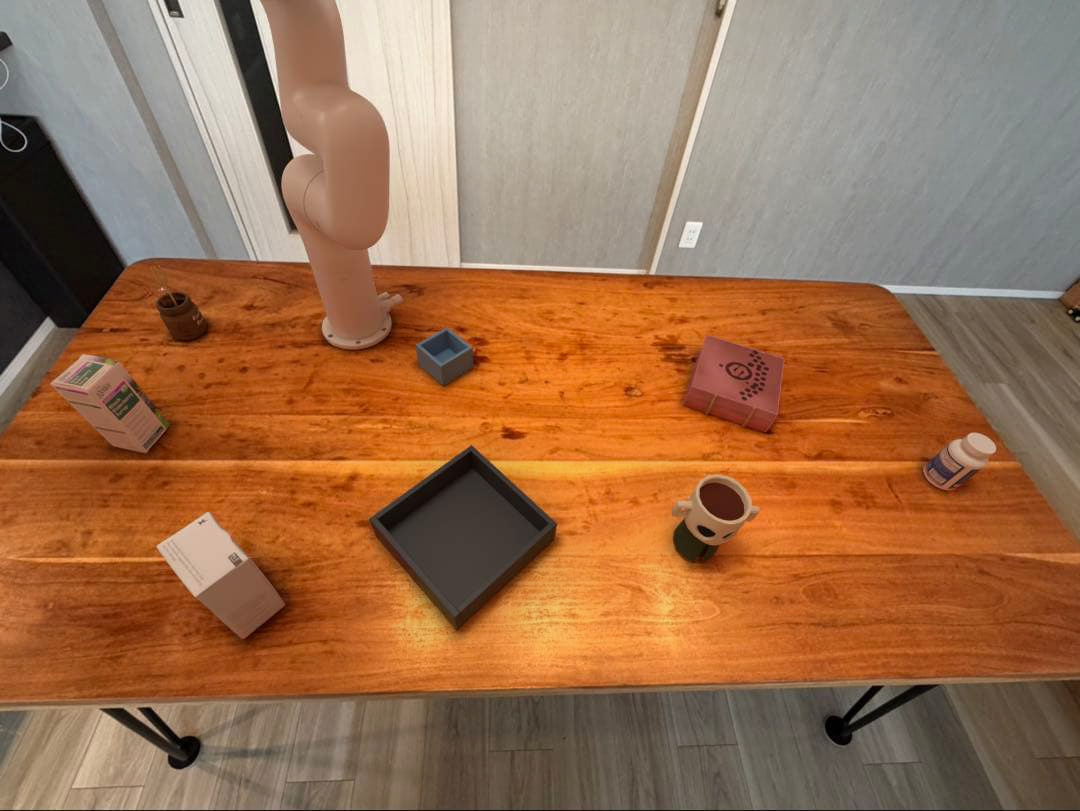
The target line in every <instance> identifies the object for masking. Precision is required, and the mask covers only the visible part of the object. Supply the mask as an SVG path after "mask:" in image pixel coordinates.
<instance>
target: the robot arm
mask: <svg viewBox="0 0 1080 811" xmlns="http://www.w3.org/2000/svg"><path fill="white" fill-rule="evenodd" d="M259 2H260V4H261V5H262V8H263V10H264V12H265V15H266V17H267V21H268V25H269V29H270V34H271V39H272V45H273V50H274V51H273V52H274V59H275V68H276V76H277V77H276V78H277V85H278V94H279V95H278V96H279V103H280V113H281V119H282V124H283V126H284V127H285V129H286V131H287V133H288V134H289V136H290V137H291V138H292V139H294V140H295V142H296V143H298V144H299V145H300V146H302V147H303V148H305V150H307V151H309V152H311V153H305V154H300V155H298V156H296V157H294V158H292V159H291V160H290V161H289V162H288V163H287V164H286V166H285V167H284V170H283V172H282V176H281V184H280V185H281V193H282V198H283V200H284V203H285V206H286V209H287V210H288V212H289V215H290V217H291V219H292V221H293V223H294V225H295V227H296V229H297V231H298V234H299V236H300V239H301V241H302V244H303V246H304V250H305V253H306V256H307V258H308V262H309V265H310V269H311V270H312V271H311V272H312V274H313V277H314V281H315V284H316V287H317V290H318V293H319V296H320V299H321V302H322V305H323V309H324V312H325V315H326V316H325V317H324V319H323V320H322V324H321V332H322V335H323V337H324V339H325V340H326V342H328V343H329V344H330V345H332V346H333V347H336V348H339V349H343V350H350V351H351V350H363V349H367V348H370V347H373V346H375V345H377V344H380V342H382V341H383V340H385V339H386V338H387V336H388V335H389V334H390V332H391V330H392V325H393V323H392V318H391V315H390V312H391V309H393V308H396V307H398V306H400V305H402V304H404V299H403V296H401V295H400V294H399V293H397V294H395V295H393V296H391V297H390V294H389V293H388V291H384V292H383V293H380V294H379V295H378V291H377V288H376V281H375V278H374V273H373V268H372V264H371V260H370V258H371V257H370V253H369V249H370V248H372V247H373V246H375V245H376V244H377V243H378V242H379V241H380V240H381V238H382V237H383V236H384V233H385V231H386V228H387V225H388V220H389V215H390V214H389V213H390V176H391V173H390V172H391V171H390V169H391V168H390V164H391V162H390V160H391V159H390V158H391V154H390V153H391V151H390V149H391V148H390V137H389V132H388V129H387V126H386V123H385V120H384V119H383V116H382V115H381V113H380V111H379V110H378V108H377V107H376V106H375V105H374V104H373V103H372V102H371V101H370V100H368V99H367V98H366V97H364V96H363V95H361V94H360V93H358V92H356V91H355V90H352V89H351V87H350V84H349V78H348V65H347V55H346V44H345V43H346V42H345V33H344V26H343V23H342V22H343V21H342V18H341V15H340V11H339V8H338V4H337V2H336V0H259Z"/></svg>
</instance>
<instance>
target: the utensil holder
mask: <svg viewBox="0 0 1080 811" xmlns="http://www.w3.org/2000/svg"><path fill="white" fill-rule="evenodd" d="M157 267H158V268H159V269H158V268H157ZM149 269H150V271H151V273H152V274H153V276H154V278H155V280H156V282H157V283H158V285H161V287H160V288H158V290H157V293H159V295H160V296H159V295H158V294H156V296H157V297H158V298H157V300H156V302H155V306H156V309H157V311H158V312H159V316H160V319H161V321H162V323H163V324H164V326H165V327H166V329H167V330H168V332H169V334H170V335H171V336H172V337H173V338H174V339H176V340H179V341H191V340H194V339H197V338H199V337H201V336H202V335H203V334H205V332H206V331H207V327H208V325H207V322H206V320H205V318H204V316H203V314H202V312H201V310H200V309H199V307H198V306H197V304H196V303H195V302H194V301H192V299H191V297H190V296H189V295H188V294H187V293H185V292H183V291H173V290H172V289H171V288H169V287H168V285H167V284H169V278H168V277H167V275H166V273H165V272H164V270H163V267H161V265H160V264H158V265H157V266H156V265H154V266H153V267H152V266H149ZM155 271H156V272H155ZM160 272H161V273H160ZM156 273H157V274H156ZM157 275H158V276H157ZM162 290H163V292H165V293H163V294H162V295H161V291H162Z"/></svg>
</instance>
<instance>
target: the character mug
mask: <svg viewBox="0 0 1080 811" xmlns="http://www.w3.org/2000/svg"><path fill="white" fill-rule="evenodd" d="M760 510H761V508H760V507H759V506H758V505H753V504H752V497H751V496H750V494H749V492H748V490H747V489H746V488H745V487H744V486H743V485H742V484H741V483H740V482H739V481H737V480H736V479H735V478H732V477H731V476H727V475H724V474H720V473H719V474H717V473H716V474H708V475H707V476H705V477H703V478H702V479H700V480H699V482H698V483H697V485H696V487H695V488H694V490H693V492H692V493H691V495H690V496H689V499H688V500H677V501H676V502H675V504H674V505H673V507H672V509H671V515H672V517H674V518H683V519H682V520H681V521H680V523H679V524H678V525H677V526H676V527H675V528H674V530H673V535H672V536H673V537H672V541H673V544H674V547H675V550H676V551H677V552H678V553H679V554H680V556H681V558H684V559H686V560H688V561H690V562H691V563H696V561H697V559H698V558H699V559H701V558H702V559H701V562H700V563H701V564H702V563H703V564H704V563H706V562H708V561H710V560H712V559H713V557H714V556H715V554H716V553H717V551H718V549H719V548H720V546H721V545H723V544H725V543H727V542H729V541H731V540H732V539H733V538H734V537H735V536H736V535H737V534H738V532H739V531H740V530H741V528H742V527H744V525H745V523H746V522H747V523H748V522H749V523H750V522H752V521H754V520H755V518H756V517H757V516H758V515H759V514H760Z"/></svg>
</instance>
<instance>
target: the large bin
mask: <svg viewBox="0 0 1080 811" xmlns="http://www.w3.org/2000/svg"><path fill="white" fill-rule="evenodd" d="M368 520H369V522H370V524H371V527H372V530H373V532H374V535H375V537H376V538H377V540H378V541H379V542H380V543H381V544H382V545H383V547H384V548H385V549H386V550H387V552H389V554H390V555H391V556H392V557H393V558H394V559H395V560H396V562H397V563H398V564H399V565H400V567H402V569H403V570H404V571H405V572H406V573H407V574H408V576H409V577H410V578H411V579H412V580H413V582H414V583H415V584H416V585H417V587H419V588H420V590H421V591H422V592H423V593H424V594H425V596H427V598H428V599H429V600H430V602H432V604H433V605H434V606H435V607H436V608H437V609H438V610H439V613H441V614H442V615H443V617H444V618H445V619H446V620H447V621H448V622H449V623H450V625H451V626H452V628H454V629H455V630H456V631H459V630H460V629H461V628H462V627H463V626H464V625H465V624H466V623H468V621H469V620H470V619H472V618H473V617H474V616H475V615H476V614H477V613H478V612H479V611H481V609H483V608H484V606H486V604H487V603H488V602H490V601H492V599H493V598H494V597H495V596H496V595H497V594H499V592H500V591H501V590H503V589H504V588H505V587H506V586H507V585H508V584H509V583H511V581H513V579H514V578H516V577H517V576H518V575H519V574H520V573H521V572H522V571H523V570H524V569H525V568H526V567H527V566H528V565H529V564H530V563H531V562H533V561H534V560H535V559H536V558H537V557H538V556H539V555H540V554H541V553H542V552H544V550H545V549H547V548H548V546H550V545H551V544H552V543H553V542H554V541H555V537H556V531H557V527H558V523H557V522H556V521H555V520H554V519H553V518H552V517H551V516H550V515H548V513H546V512H545V511H544V510H543V509H542V508H541V507H540V506H539V505H537V504H536V503H535V501H533V500H532V499H531V497H529V496H528V495H527V494H526V493H525V492H524V491H523V490H521V489H520V487H518V486H517V485H516V484H515V483H514V482H513V481H512V480H511V479H509V477H507V476H506V475H505V474H504V473H503V472H502V471H501V470H499V468H497V466H495V465H494V464H493V463H492V462H491V461H490V460H489V459H487V458H486V456H484V455H483V453H481V452H480V451H479V450H478V449H477V448H476V447H474V446H473V445H472V444H470V445H469V446H468V447H467V448H465V449H464V450H462V451H461V452H459V453H458V454H457V455H455V456H454V457H452V458H451V459H450V460H448V461H447V462H446V463H444V464H443V465H441V466H440V467H439V468H438V469H436V470H434V471H433V472H432V473H430V474H429V475H427V476H426V477H425V478H424V479H422V480H421V481H419V482H417V484H415V485H414V486H412V487H411V488H409V489H408V490H407V491H405V492H404V493H403V494H401V495H400V496H398V497H397V498H396V499H394V500H393V501H392V502H390V503H389V504H387V505H386V506H385V507H383V508H382V509H380V510H379V511H378V512H376V513H375V514H374V515H372V516H370V517H369V518H368Z"/></svg>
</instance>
